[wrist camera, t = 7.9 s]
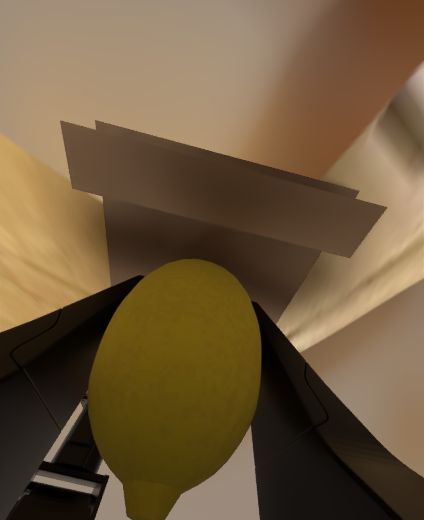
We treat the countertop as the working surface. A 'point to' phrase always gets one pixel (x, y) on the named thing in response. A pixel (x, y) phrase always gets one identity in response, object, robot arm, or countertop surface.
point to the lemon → (175, 383)
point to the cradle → (212, 211)
